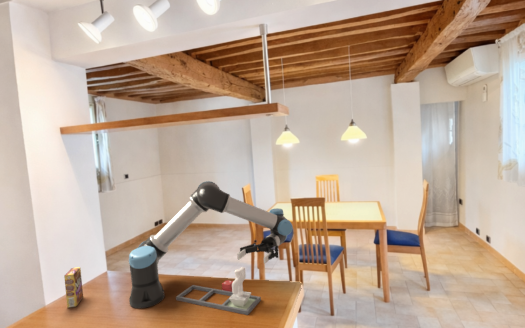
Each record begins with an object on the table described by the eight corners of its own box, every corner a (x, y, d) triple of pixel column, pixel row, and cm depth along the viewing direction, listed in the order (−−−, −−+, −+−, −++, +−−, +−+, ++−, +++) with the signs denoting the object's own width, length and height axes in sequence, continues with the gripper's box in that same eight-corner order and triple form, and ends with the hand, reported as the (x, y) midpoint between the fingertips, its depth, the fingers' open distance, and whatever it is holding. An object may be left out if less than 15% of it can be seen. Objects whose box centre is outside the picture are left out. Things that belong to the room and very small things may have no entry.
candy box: (77, 306, 142) (73, 274, 140) (67, 308, 141) (62, 275, 140) (84, 297, 150) (80, 266, 149) (74, 298, 149) (70, 267, 148)
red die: (222, 292, 145) (221, 283, 145) (227, 288, 149) (226, 279, 149) (229, 293, 144) (229, 284, 143) (234, 289, 147) (233, 280, 147)
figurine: (227, 308, 130) (225, 273, 129) (238, 296, 139) (235, 264, 138) (243, 310, 127) (240, 275, 126) (253, 299, 136) (250, 266, 135)
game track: (176, 300, 141) (175, 296, 141) (192, 287, 152) (192, 284, 152) (247, 315, 125) (247, 311, 125) (260, 300, 135) (260, 296, 135)
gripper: (293, 253, 155) (276, 270, 136) (249, 248, 166) (228, 263, 147) (292, 238, 154) (275, 253, 135) (248, 234, 165) (227, 247, 146)
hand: (250, 258), depth 141 cm, fingers open, 13 cm apart
